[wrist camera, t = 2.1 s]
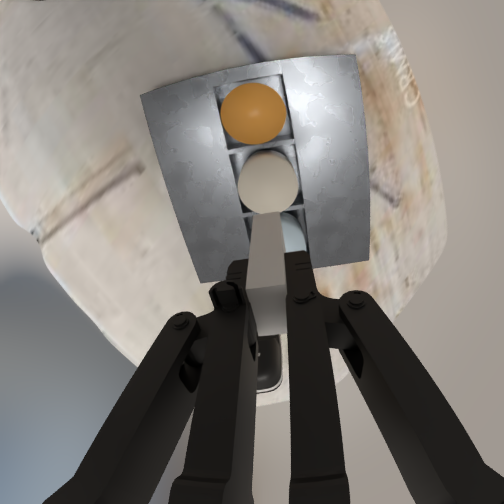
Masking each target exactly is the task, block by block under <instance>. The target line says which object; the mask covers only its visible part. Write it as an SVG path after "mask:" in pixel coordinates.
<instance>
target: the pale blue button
mask: <svg viewBox="0 0 504 504" xmlns="http://www.w3.org/2000/svg"><path fill="white" fill-rule="evenodd" d="M280 218H281V224H282V230H283V236H284V242H285V249H286V252H293V251H300V250H305V251H306V244H305V239H304V234H303V230H302V226H301V224H300V222H299V221H298V220H297V219H296V218H295V217H294V216H292V215H291V214H288V213H285V212H280Z"/></svg>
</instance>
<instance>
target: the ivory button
mask: <svg viewBox="0 0 504 504" xmlns="http://www.w3.org/2000/svg"><path fill="white" fill-rule="evenodd" d="M238 193H239V196H240V198H241V200H242V202H243V203H244V204H245V205H246V206H247V207H248V208H249V209H250V210H252V211H254V212H256V213H259V214H264V213H270V212H277V211H279V212H282V211H284V210H286V209H287V208H288V207H290V205H291V204H292V203H293V202H294V200H295V198H296V196H297V193H298V181H297V177H296V174H295V171H294V168H293V165H292V164H291V162H290V161H289V159H288V158H287V157H286V156H284V155H283V154H281V153H279V152H276V151H272V150H263V151H259V152H256V153H254V154H252V155H251V156H250V157H249V158H247V160H246V161H245V162H244V164H243V166H242V169H241V173H240V176H239V180H238Z"/></svg>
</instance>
